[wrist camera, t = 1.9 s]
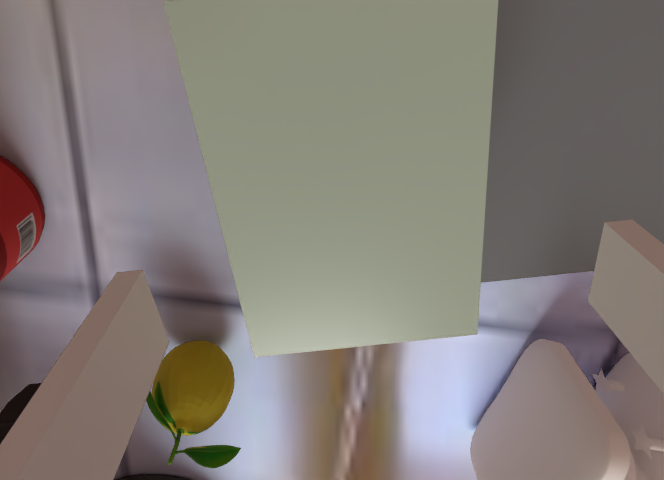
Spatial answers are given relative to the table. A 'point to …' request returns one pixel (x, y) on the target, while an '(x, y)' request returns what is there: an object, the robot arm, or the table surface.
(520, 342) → the table surface
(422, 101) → the lid
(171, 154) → the table surface
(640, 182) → the mat
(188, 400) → the lemon
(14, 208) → the canned food
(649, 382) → the cable organizer
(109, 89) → the table surface
